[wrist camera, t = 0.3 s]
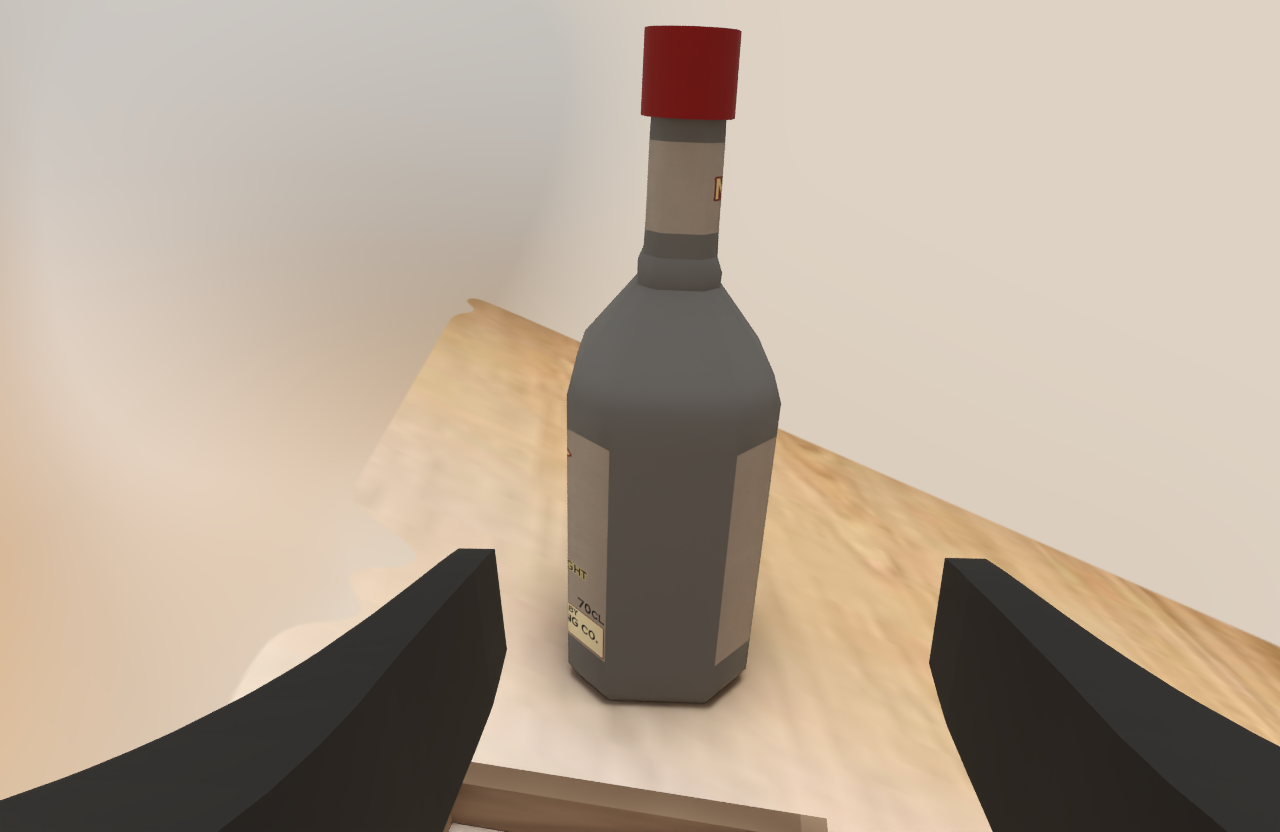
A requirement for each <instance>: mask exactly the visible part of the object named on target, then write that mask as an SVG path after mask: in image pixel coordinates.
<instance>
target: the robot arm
mask: <svg viewBox="0 0 1280 832" xmlns="http://www.w3.org/2000/svg"><path fill="white" fill-rule="evenodd" d="M506 651H507V647H506V639H505V630H504V622H503V614H502V606H501V597H500V589H499V581H498V572H497V564H496V556H495V549H460V548H459V549H457V550H456V551H455V552H453V553H452V554H450V555H449V556H447V557H446V558H445V559H443V560H442V561H441V562H440V563H438V564H437V565H436V566H434V567H433V568H432V569H431V570H429V571H428V572H427V573H425V574H424V575H423V576H422V577H420V578H419V579H418V580H417V581H415V582H414V583H413V584H411V585H410V586H409V587H408V588H406V589H405V590H404V591H402V592H401V593H400V594H398V595H397V596H396V597H394V598H393V599H392V600H391V601H389V602H388V603H387V604H385V605H384V606H383V607H381V608H380V609H379V610H377V611H376V612H375V613H374V614H372V615H371V616H369V617H368V618H367V619H365V620H364V621H362V622H361V623H359V624H358V625H357V626H355V627H354V628H352V629H351V630H349V631H348V632H346V633H345V634H344V635H342V636H341V637H339V638H338V639H336V640H335V641H334V642H332V643H331V644H329V645H328V646H326V647H325V648H324V649H322V650H321V651H319V652H318V653H316V654H315V655H313V656H311V657H310V658H308V659H307V660H305V661H304V662H302V663H300V664H299V665H297V666H296V667H294V668H292V669H291V670H289V671H287V672H286V673H284V674H282V675H281V676H279V677H277V678H275V679H274V680H272V681H270V682H269V683H267V684H265V685H263V686H262V687H260V688H258V689H256V690H255V691H253V692H251V693H249V694H247V695H246V696H244V697H242V698H240V699H238V700H236V701H234V702H232V703H230V704H228V705H226V706H224V707H222V708H220V709H218V710H216V711H214V712H212V713H210V714H208V715H206V716H205V717H202V718H200V719H198V720H197V721H194V722H192V723H190V724H188V725H186V726H185V727H182V728H180V729H178V730H176V731H174V732H172V733H170V734H168V735H166V736H163V737H161V738H159V739H156V740H154V741H152V742H150V743H147V744H145V745H143V746H141V747H138V748H137V749H134V750H132V751H129V752H127V753H124V754H122V755H120V756H117V757H115V758H112V759H110V760H107V761H105V762H103V763H100V764H98V765H95V766H93V767H91V768H88V769H85V770H83V771H80V772H78V773H75V774H73V775H70V776H68V777H65V778H62V779H60V780H57V781H54V782H51V783H49V784H45V785H43V786H40V787H37V788H34V789H32V790H29V791H26V792H23V793H20V794H17V795H15V796H12V797H9V798H6V799H3V800H0V832H443V830H444V828H445V825H446V823H447V820H448V818H449V815H450V813H451V810H452V808H453V805H454V803H455V800H456V798H457V795H458V793H459V790H460V788H461V785H462V783H463V780H464V778H465V775H466V773H467V770H468V768H469V765H470V763H471V760H472V758H473V755H474V753H475V750H476V748H477V745H478V743H479V740H480V737H481V735H482V732H483V730H484V727H485V725H486V722H487V720H488V717H489V714H490V712H491V709H492V706H493V703H494V699H495V695H496V692H497V688H498V684H499V680H500V676H501V672H502V668H503V664H504V659H505V655H506ZM929 665H930V668H931V672H932V676H933V679H934V683H935V687H936V690H937V694H938V698H939V701H940V704H941V708H942V711H943V714H944V718H945V721H946V724H947V727H948V729H949V731H950V734H951V736H952V739H953V741H954V743H955V746H956V748H957V750H958V753H959V755H960V757H961V760H962V762H963V764H964V767H965V769H966V771H967V774H968V776H969V778H970V781H971V783H972V785H973V787H974V790H975V792H976V794H977V797H978V799H979V801H980V803H981V806H982V808H983V810H984V813H985V815H986V817H987V819H988V822H989V824H990V826H991V829H992V831H993V832H1280V747H1279V746H1277V745H1275V744H1274V743H1272V742H1270V741H1268V740H1266V739H1264V738H1262V737H1260V736H1258V735H1256V734H1254V733H1252V732H1251V731H1249V730H1247V729H1245V728H1244V727H1242V726H1240V725H1238V724H1236V723H1235V722H1233V721H1231V720H1229V719H1227V718H1226V717H1224V716H1222V715H1220V714H1218V713H1217V712H1215V711H1213V710H1211V709H1209V708H1208V707H1206V706H1204V705H1202V704H1200V703H1199V702H1197V701H1195V700H1194V699H1192V698H1190V697H1189V696H1187V695H1185V694H1184V693H1182V692H1180V691H1178V690H1177V689H1175V688H1174V687H1172V686H1170V685H1169V684H1167V683H1166V682H1164V681H1162V680H1161V679H1159V678H1158V677H1156V676H1155V675H1153V674H1151V673H1150V672H1148V671H1147V670H1145V669H1144V668H1142V667H1140V666H1139V665H1137V664H1136V663H1134V662H1133V661H1131V660H1129V659H1128V658H1126V657H1125V656H1123V655H1122V654H1120V653H1119V652H1117V651H1116V650H1114V649H1113V648H1112V647H1110V646H1109V645H1107V644H1106V643H1104V642H1103V641H1101V640H1100V639H1098V638H1097V637H1095V636H1094V635H1093V634H1091V633H1090V632H1088V631H1087V630H1085V629H1084V628H1083V627H1081V626H1080V625H1078V624H1077V623H1075V622H1074V621H1073V620H1071V619H1070V618H1068V617H1067V616H1066V615H1064V614H1063V613H1062V612H1060V611H1059V610H1057V609H1056V608H1055V607H1053V606H1052V605H1050V604H1049V603H1048V602H1046V601H1045V600H1044V599H1042V598H1041V597H1039V596H1038V595H1037V594H1035V593H1034V592H1033V591H1031V590H1030V589H1028V588H1027V587H1026V586H1024V585H1023V584H1022V583H1020V582H1019V581H1017V580H1016V579H1015V578H1013V577H1012V576H1010V575H1009V574H1008V573H1006V572H1005V571H1003V570H1002V569H1000V568H999V567H997V566H996V565H994V564H993V563H991V562H990V561H988V560H987V559H966V558H945V561H944V568H943V575H942V581H941V588H940V594H939V601H938V608H937V614H936V621H935V627H934V634H933V641H932V647H931V654H930V660H929Z"/></svg>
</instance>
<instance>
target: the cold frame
mask: <svg viewBox="0 0 1280 832" xmlns="http://www.w3.org/2000/svg"><path fill="white" fill-rule="evenodd" d="M452 822H455V823H461V824H466V825H472V826H478V827H484V828H490V829H496V830H502V831H508V832H828V830H827V819H825V818H819V817H813V816H807V815H800V814H794V813H788V812H782V811H775V810H769V809H763V808H757V807H750V806H744V805H738V804H731V803H725V802H719V801H713V800H706V799H700V798H694V797H688V796H681V795H675V794H669V793H663V792H656V791H650V790H644V789H637V788H631V787H625V786H619V785H612V784H606V783H600V782H594V781H587V780H581V779H575V778H569V777H562V776H556V775H550V774H544V773H537V772H531V771H525V770H518V769H512V768H506V767H500V766H493V765H487V764H481V763H475V762H471V763H470V765H469V768H468V770H467V773H466V775H465V778H464V780H463V783H462V785H461V788H460V790H459V793H458V795H457V798H456V800H455V803H454V805H453V808H452V810H451V813H450V815H449V818H448V820H447V823H446V825H445V828H444V830H443V832H448V831H449V828H450V826H451V823H452Z"/></svg>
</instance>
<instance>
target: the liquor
mask: <svg viewBox="0 0 1280 832" xmlns="http://www.w3.org/2000/svg"><path fill="white" fill-rule="evenodd" d="M740 44H741V31H740V30H737V29H728V28H718V27H701V26H648V27H645V34H644V57H643V79H642V80H643V81H642V102H641V115H644V116H650V117H651V126H650V142H649V163H648V183H647V204H646V223H645V237H644V246H643V248H642V251H641V253H640V255H639V257H638V273H637V275H636V276H635V277H634V278H633V279H632V280H631V281H630V282H629V283H628V285H627V286H626V287H625V288H624V289H623V290H622V291H621V292H620V293H619V295H617V296H616V298H615V299H614V300H613V301H612V302H611V303H610V304H609V305H608V306H607V307H606V308H605V310H604V311H603V312H602V313H601V314H600V315H599V316H598V317H597V318H596V319H595V321H594V322H593V323H592V324H591V325H590V326H589V327H588V328H587V329H586V330H585V333H584V335H583V339H582V341H581V344H580V347H579V350H578V353H577V357H576V361H575V365H574V369H573V373H572V377H571V381H570V385H569V389H568V393H567V493H568V648H569V663H570V665H571V666H572V667H573V668H574V669H575V670H576V672H577V673H578V674H579V675H581V676H582V677H583V678H584V679H585V680H586V681H588V682H589V683H590V684H591V685H592V686H593V687H595V688H596V689H597V690H598V691H599V692H600V693H602V694H603V695H604V696H605V697H606V698H607V699H609V700H625V701H654V702H683V703H705V702H706V701H708V700H709V699H710V698H711V697H713V696H714V695H715V694H716V693H717V692H719V691H720V690H721V689H722V688H724V687H725V686H726V685H727V684H729V683H730V682H731V681H732V680H733V679H735V678H736V677H737V676H738V675H739V674H740V673H741V672H742V671H743V670H744V669H746V662H747V655H748V647H749V640H750V632H751V625H752V617H753V609H754V602H755V594H756V587H757V579H758V572H759V564H760V557H761V549H762V542H763V534H764V527H765V519H766V512H767V504H768V497H769V489H770V482H771V474H772V467H773V459H774V451H775V444H776V436H777V429H778V421H779V413H780V406H781V402H780V397H779V393H778V389H777V384H776V380H775V376H774V373H773V371H772V368H771V366H770V363H769V361H768V359H767V356H766V354H765V352H764V350H763V347H762V345H761V342H760V340H759V338H758V336H757V335H756V333H755V332H754V330H753V329H752V327H751V326H750V325H749V323H748V322H747V320H746V319H745V317H744V316H743V314H742V313H741V312H740V310H739V309H738V307H737V306H736V304H735V303H734V302H733V300H732V298H731V297H730V296H729V294H728V293H727V291H726V290H725V288H724V287H723V285H722V284H721V276H722V271H721V268H720V264H719V261H718V258H717V253H718V233H719V219H720V206H721V191H722V178H723V164H724V151H725V135H726V120H732V119H735V109H736V96H737V95H736V94H737V83H738V70H739V57H740Z"/></svg>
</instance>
